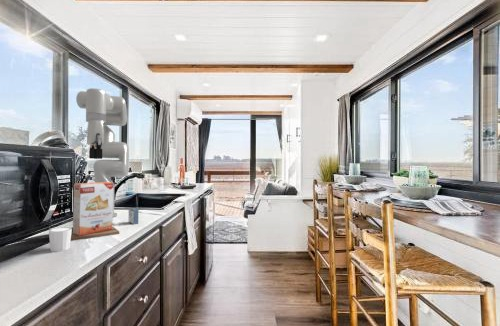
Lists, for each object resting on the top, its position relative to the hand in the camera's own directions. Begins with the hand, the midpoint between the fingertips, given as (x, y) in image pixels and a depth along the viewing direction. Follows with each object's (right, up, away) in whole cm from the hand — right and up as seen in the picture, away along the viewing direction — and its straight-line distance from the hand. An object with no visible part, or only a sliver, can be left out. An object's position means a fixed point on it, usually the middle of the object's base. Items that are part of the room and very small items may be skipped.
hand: (95, 158), depth 119 cm
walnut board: (-1, -32, -1) cm, 32 cm away
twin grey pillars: (-1, -32, +14) cm, 35 cm away
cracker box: (-1, -32, -1) cm, 32 cm away
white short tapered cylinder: (-1, -33, -21) cm, 39 cm away
